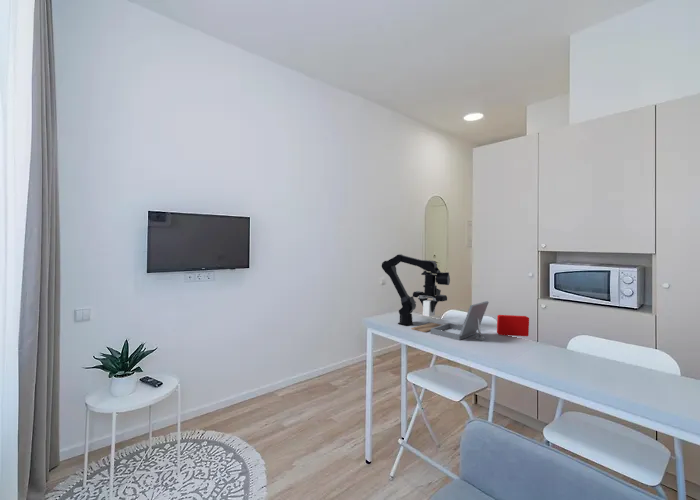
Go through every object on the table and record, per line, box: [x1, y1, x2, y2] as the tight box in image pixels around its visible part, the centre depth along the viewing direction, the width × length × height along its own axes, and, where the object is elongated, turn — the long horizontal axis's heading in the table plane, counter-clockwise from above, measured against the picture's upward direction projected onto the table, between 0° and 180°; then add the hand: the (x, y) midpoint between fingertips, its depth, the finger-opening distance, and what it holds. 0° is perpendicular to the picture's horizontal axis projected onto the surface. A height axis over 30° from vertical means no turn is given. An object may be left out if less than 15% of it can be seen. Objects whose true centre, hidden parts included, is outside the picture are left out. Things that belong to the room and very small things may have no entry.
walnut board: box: [411, 322, 442, 333], centre depth 191 cm, size 9×20×1 cm, turn 136°
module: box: [422, 299, 436, 317], centre depth 190 cm, size 4×6×8 cm
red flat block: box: [496, 314, 530, 337], centre depth 180 cm, size 15×3×10 cm, turn 84°
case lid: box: [459, 300, 490, 336], centre depth 172 cm, size 16×19×1 cm
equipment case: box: [430, 319, 485, 341], centre depth 177 cm, size 24×19×10 cm
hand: (428, 311), depth 190 cm, fingers closed on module, 4 cm apart
